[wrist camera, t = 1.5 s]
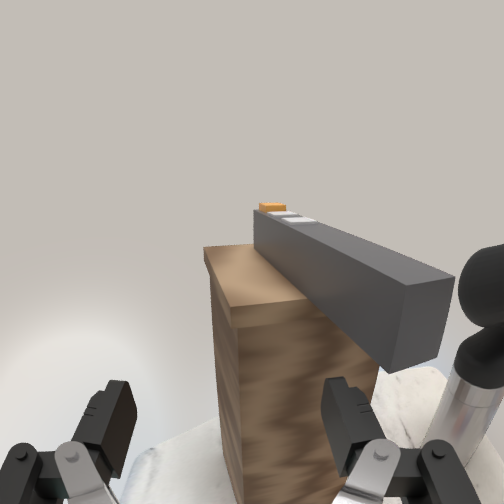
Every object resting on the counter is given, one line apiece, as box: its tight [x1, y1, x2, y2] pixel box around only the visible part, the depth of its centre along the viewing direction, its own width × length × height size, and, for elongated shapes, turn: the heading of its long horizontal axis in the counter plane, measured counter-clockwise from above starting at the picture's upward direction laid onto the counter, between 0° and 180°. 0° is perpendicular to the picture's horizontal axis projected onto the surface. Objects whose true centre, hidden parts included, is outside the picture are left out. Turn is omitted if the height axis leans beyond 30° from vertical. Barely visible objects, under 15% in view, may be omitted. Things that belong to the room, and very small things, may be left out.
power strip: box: [254, 203, 455, 374], centre depth 22 cm, size 3×23×5 cm, turn 14°
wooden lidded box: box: [204, 244, 380, 504], centre depth 32 cm, size 13×16×32 cm
